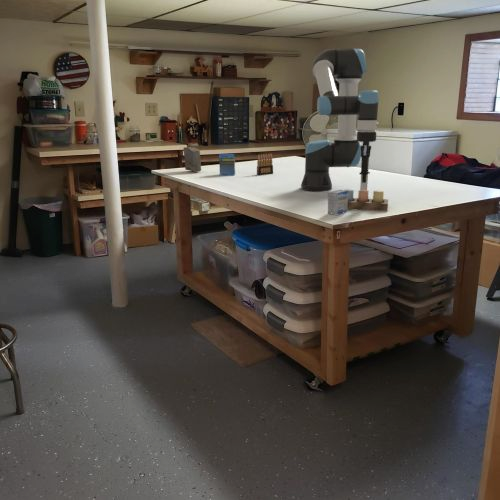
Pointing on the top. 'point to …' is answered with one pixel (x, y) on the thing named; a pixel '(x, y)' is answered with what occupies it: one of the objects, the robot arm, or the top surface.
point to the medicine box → (337, 201)
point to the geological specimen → (192, 159)
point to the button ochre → (378, 196)
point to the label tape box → (227, 164)
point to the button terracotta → (363, 196)
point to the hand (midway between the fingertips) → (363, 190)
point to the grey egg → (350, 194)
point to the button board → (368, 205)
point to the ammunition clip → (264, 165)
